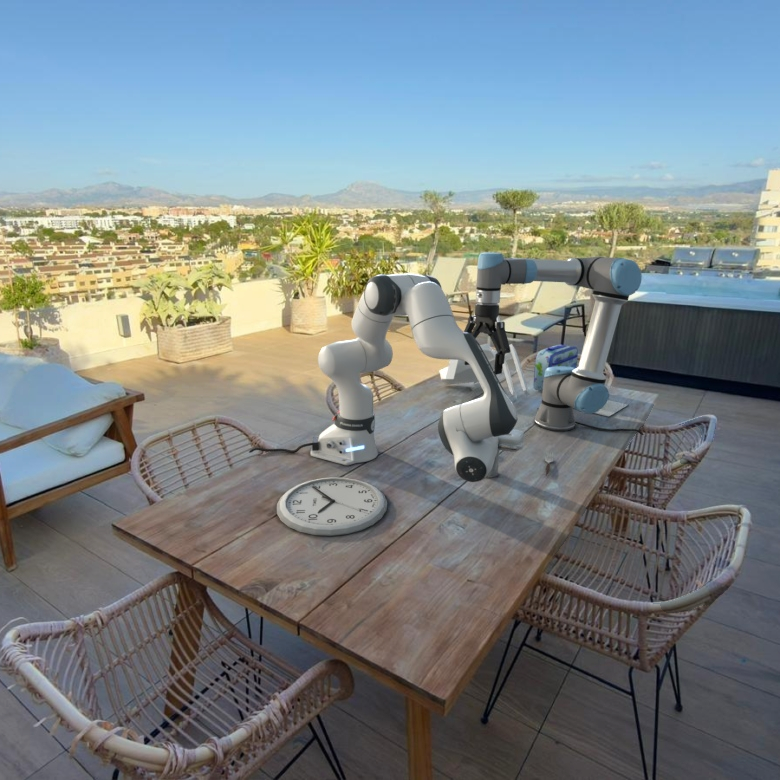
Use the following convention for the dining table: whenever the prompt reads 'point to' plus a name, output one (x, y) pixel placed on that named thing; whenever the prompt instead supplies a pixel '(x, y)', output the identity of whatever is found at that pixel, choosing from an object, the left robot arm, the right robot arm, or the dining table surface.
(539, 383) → the lunch box
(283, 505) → the wall clock
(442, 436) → the left robot arm
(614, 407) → the invitation card
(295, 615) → the dining table surface
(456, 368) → the white plastic object
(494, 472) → the jar
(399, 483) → the dining table surface
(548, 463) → the fork
